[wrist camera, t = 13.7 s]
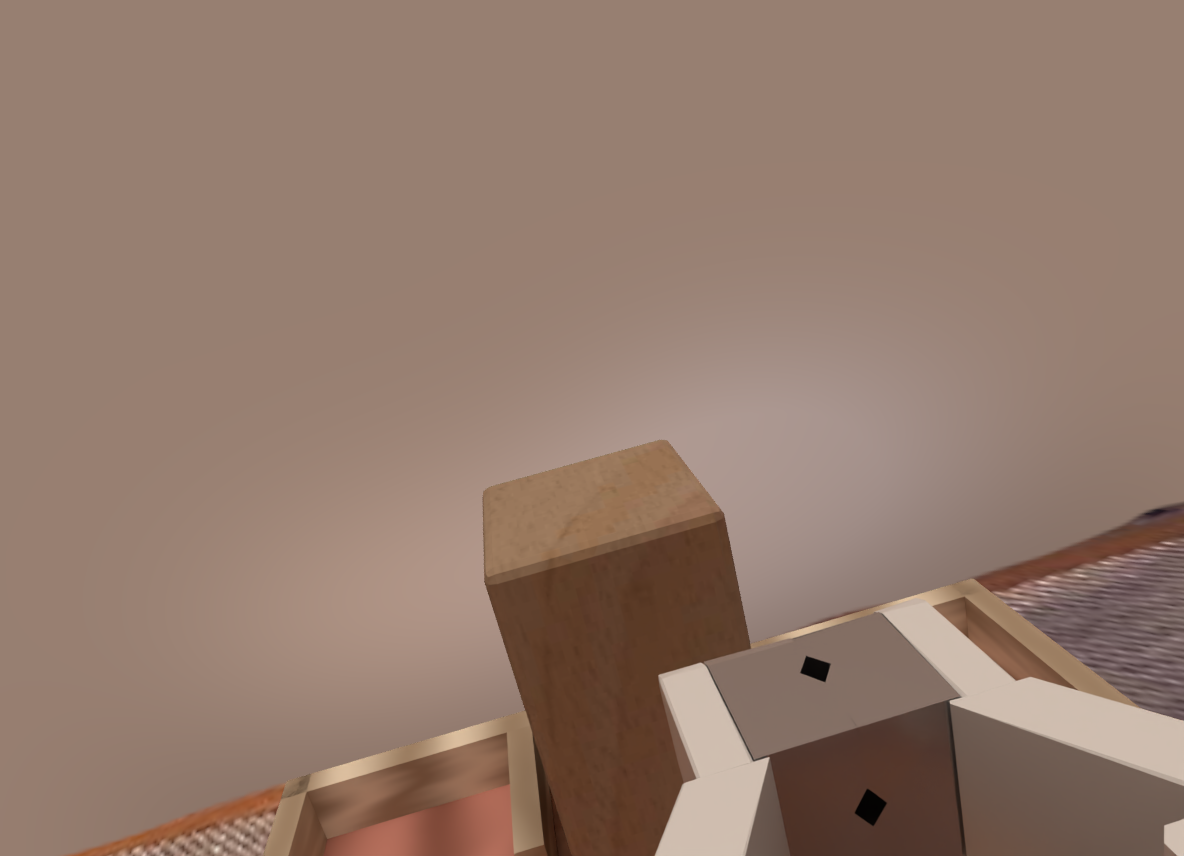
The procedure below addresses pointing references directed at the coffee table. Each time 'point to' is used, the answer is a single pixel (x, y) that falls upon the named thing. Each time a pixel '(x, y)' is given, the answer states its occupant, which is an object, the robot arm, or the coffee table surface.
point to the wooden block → (609, 628)
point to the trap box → (516, 774)
